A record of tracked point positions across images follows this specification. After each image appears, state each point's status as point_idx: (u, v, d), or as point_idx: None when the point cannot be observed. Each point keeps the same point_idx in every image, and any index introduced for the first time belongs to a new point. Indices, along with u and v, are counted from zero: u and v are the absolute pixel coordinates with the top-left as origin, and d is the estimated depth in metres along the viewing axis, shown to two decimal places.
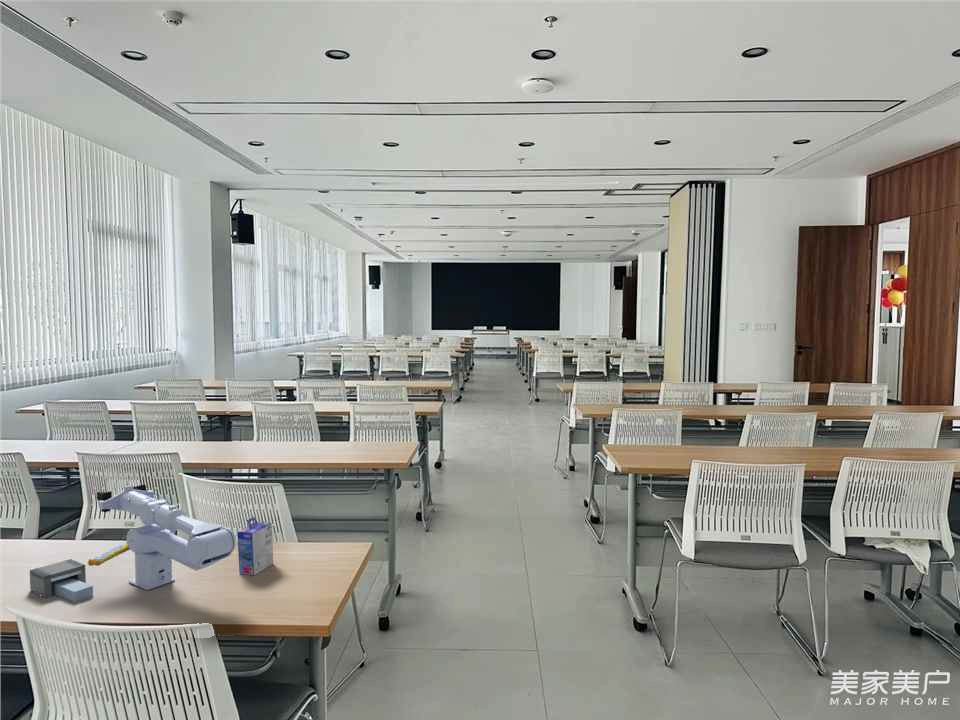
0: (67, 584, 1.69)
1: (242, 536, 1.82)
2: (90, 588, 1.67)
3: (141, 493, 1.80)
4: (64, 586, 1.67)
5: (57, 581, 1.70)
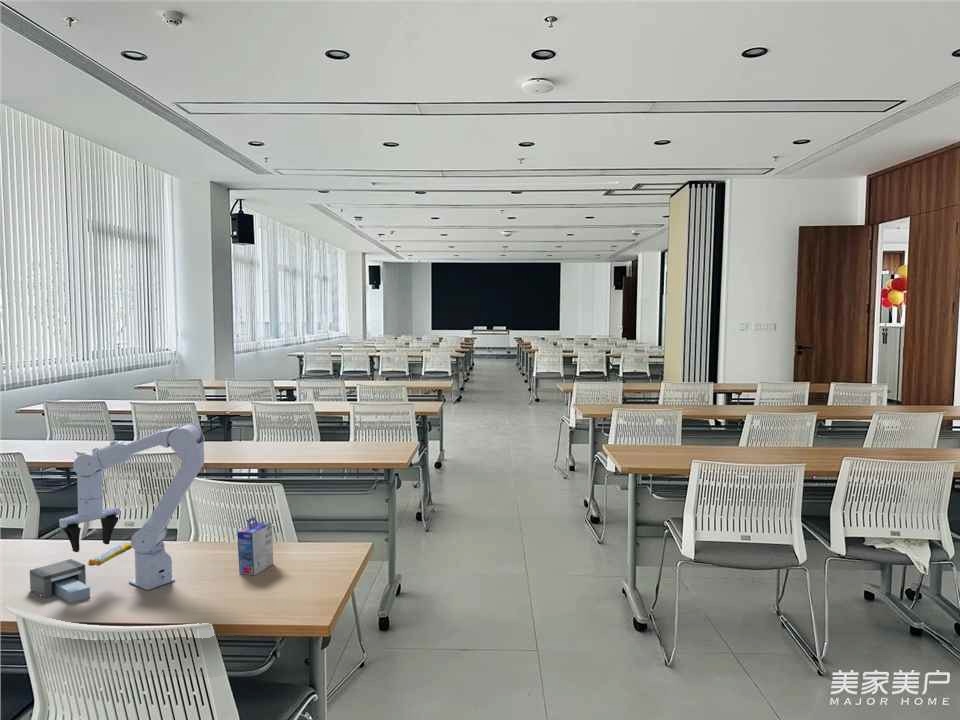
0: (67, 584, 1.69)
1: (242, 536, 1.82)
2: (87, 589, 1.66)
3: None
4: (63, 586, 1.67)
5: (58, 580, 1.71)
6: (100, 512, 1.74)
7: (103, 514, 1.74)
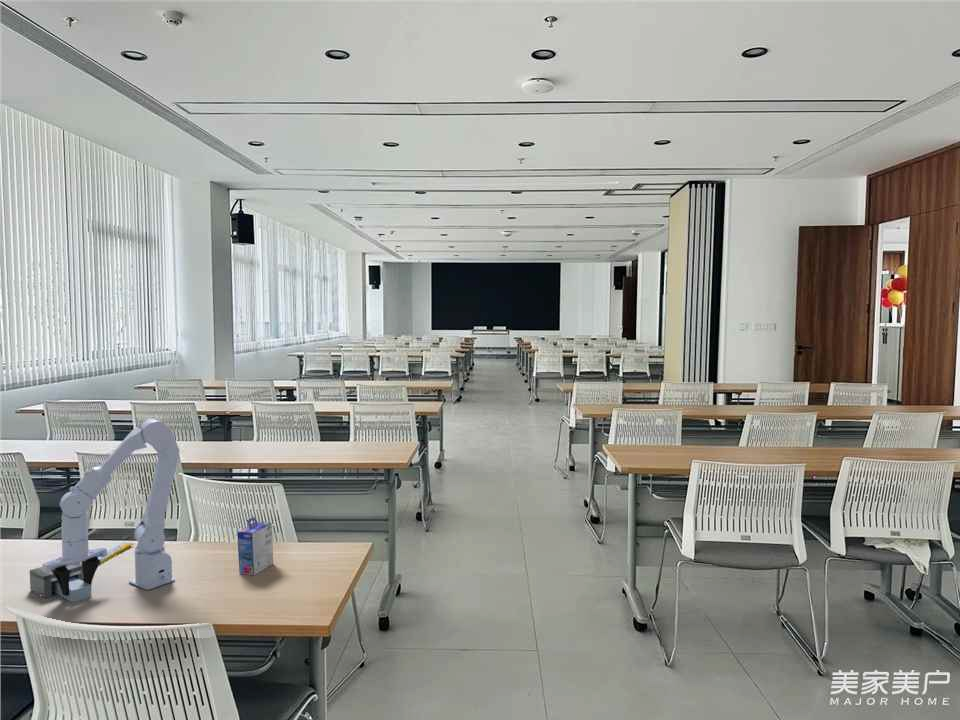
0: None
1: (242, 536, 1.82)
2: (88, 587, 1.67)
3: None
4: None
5: None
6: (86, 554, 1.66)
7: (89, 556, 1.67)
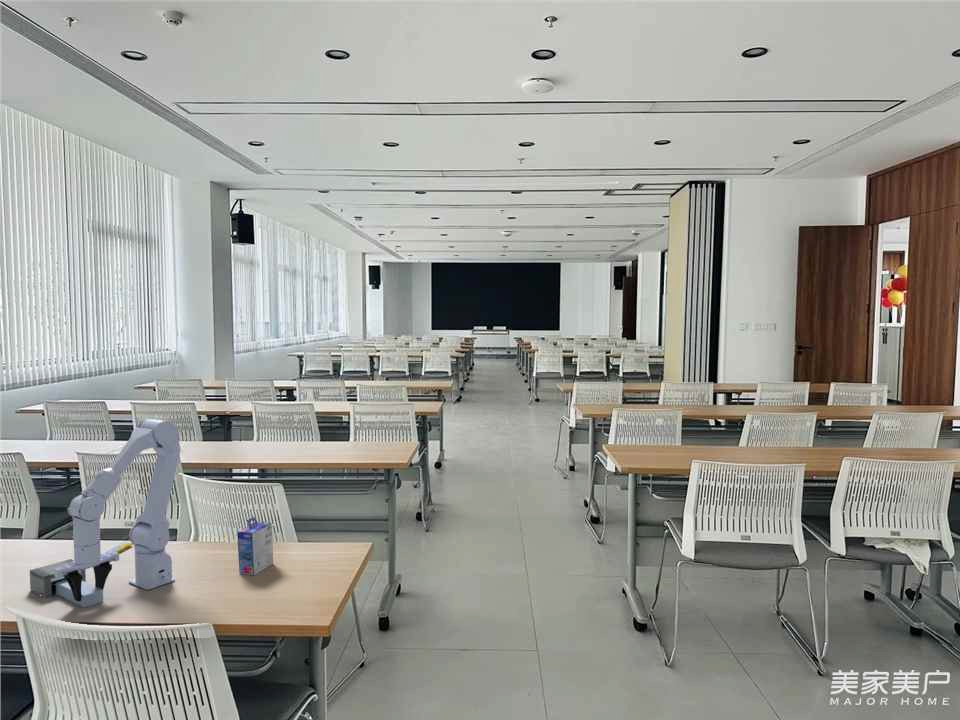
0: None
1: (242, 536, 1.82)
2: (100, 592, 1.63)
3: None
4: None
5: (68, 584, 1.67)
6: (98, 559, 1.63)
7: (101, 561, 1.64)
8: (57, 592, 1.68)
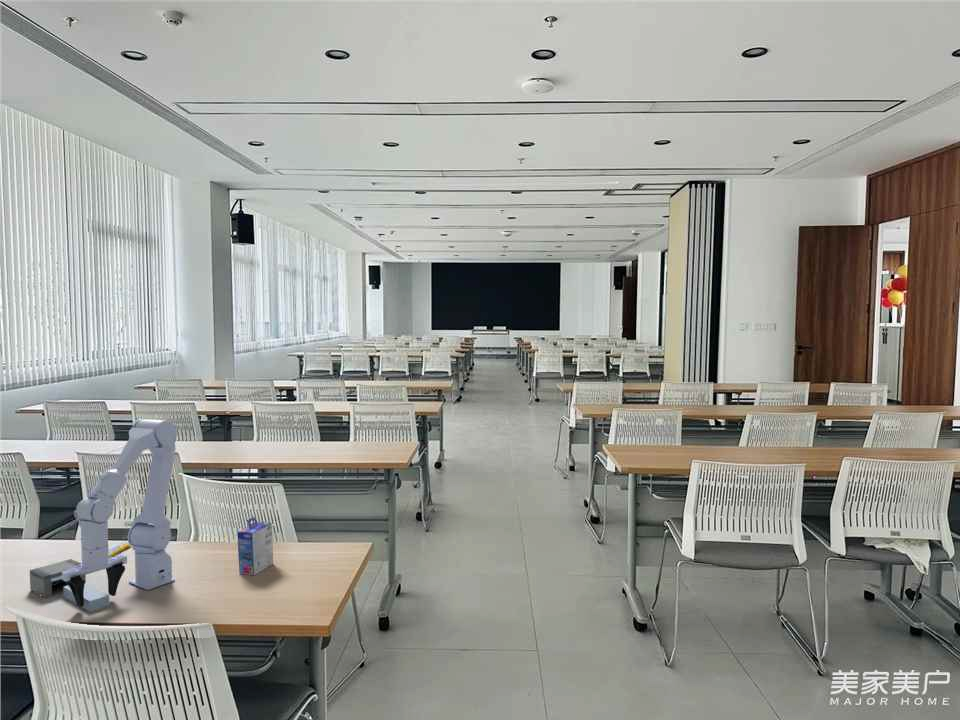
0: (84, 592, 1.63)
1: (242, 536, 1.82)
2: (106, 597, 1.61)
3: None
4: None
5: None
6: (106, 562, 1.61)
7: (109, 564, 1.61)
8: (65, 596, 1.66)
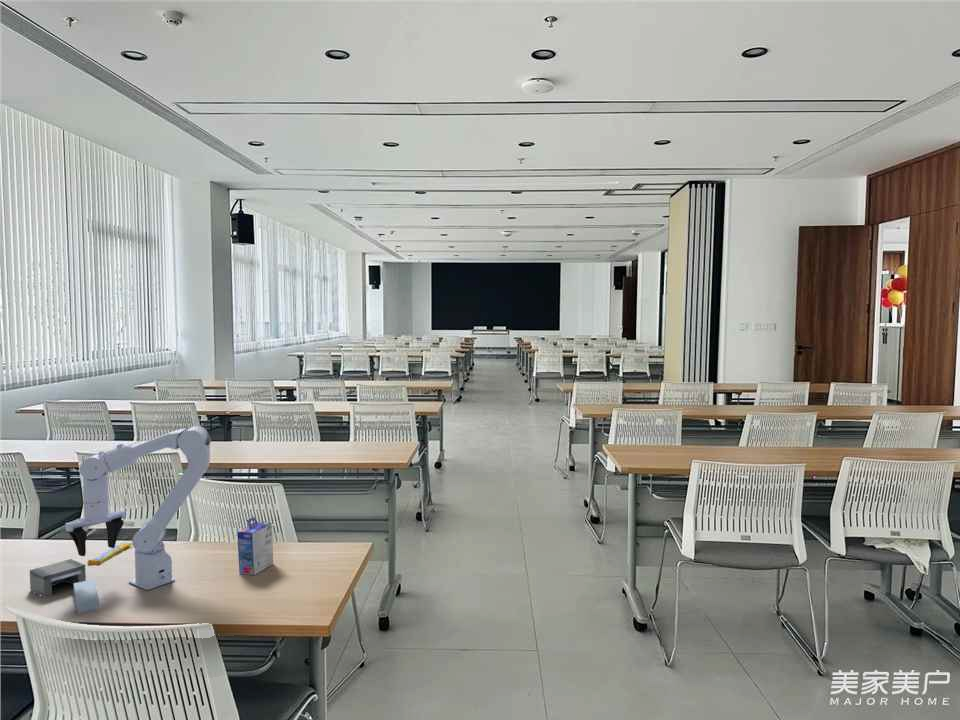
0: (83, 592, 1.63)
1: (242, 536, 1.82)
2: (96, 601, 1.59)
3: None
4: (78, 594, 1.62)
5: (80, 587, 1.66)
6: (106, 516, 1.73)
7: (109, 517, 1.74)
8: None
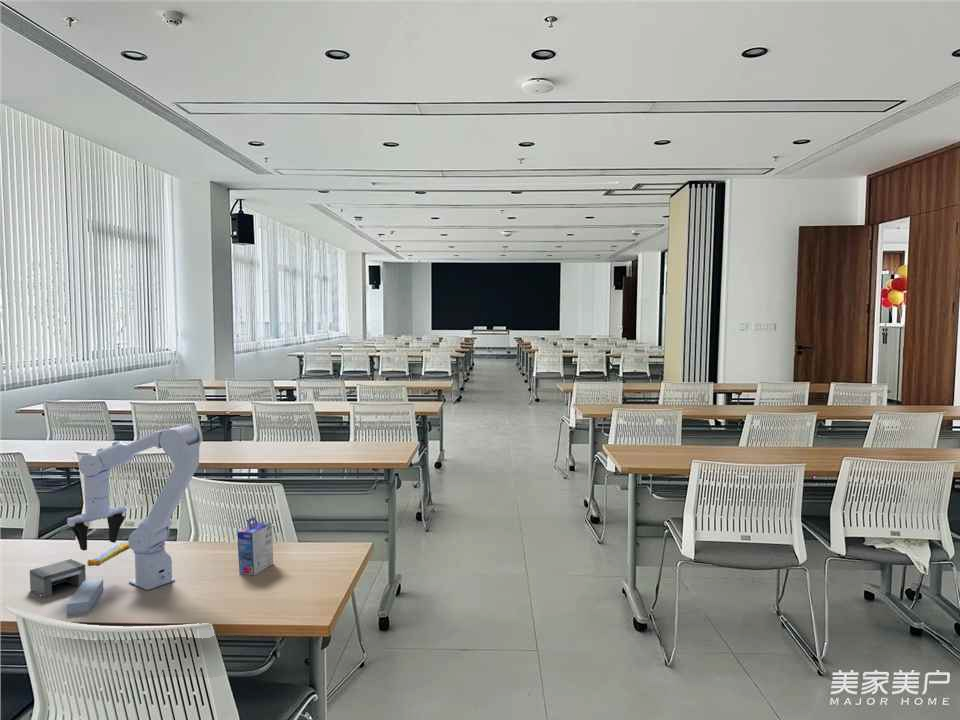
0: (82, 592, 1.64)
1: (242, 536, 1.82)
2: (85, 603, 1.58)
3: None
4: (76, 593, 1.62)
5: (85, 586, 1.67)
6: (107, 511, 1.77)
7: (110, 513, 1.78)
8: None
